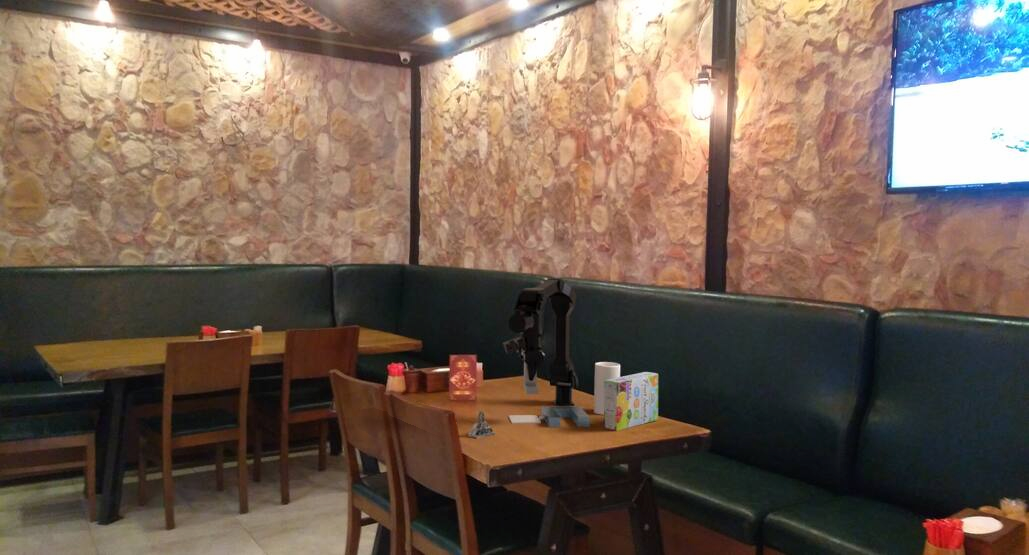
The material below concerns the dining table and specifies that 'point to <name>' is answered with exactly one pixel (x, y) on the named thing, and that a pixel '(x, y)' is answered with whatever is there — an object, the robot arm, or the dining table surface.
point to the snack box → (630, 400)
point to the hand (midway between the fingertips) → (530, 379)
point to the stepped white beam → (529, 382)
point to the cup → (603, 373)
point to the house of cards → (480, 428)
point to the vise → (564, 415)
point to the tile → (524, 419)
